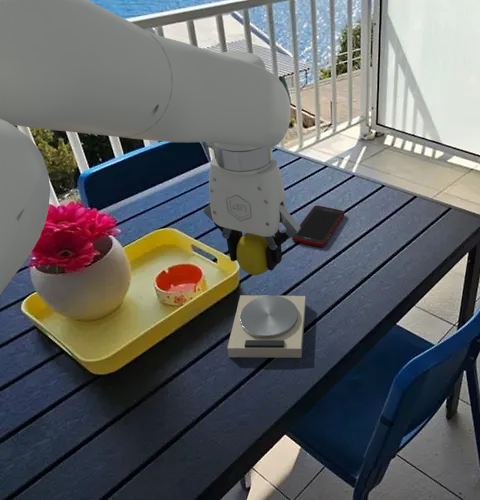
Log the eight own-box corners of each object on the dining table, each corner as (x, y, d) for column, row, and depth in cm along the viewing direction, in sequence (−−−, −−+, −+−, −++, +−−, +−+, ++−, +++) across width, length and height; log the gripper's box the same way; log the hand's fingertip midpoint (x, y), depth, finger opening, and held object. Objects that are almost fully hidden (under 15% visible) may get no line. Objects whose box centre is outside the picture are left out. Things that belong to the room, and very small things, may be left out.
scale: (301, 357, 83) (300, 345, 81) (228, 357, 83) (226, 344, 81) (305, 304, 93) (305, 292, 92) (241, 304, 93) (239, 291, 91)
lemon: (232, 274, 78) (226, 232, 73) (260, 259, 81) (255, 217, 77) (254, 290, 75) (249, 247, 70) (282, 274, 78) (279, 232, 74)
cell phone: (345, 214, 119) (345, 210, 118) (323, 248, 107) (323, 244, 107) (315, 208, 121) (315, 204, 120) (290, 241, 109) (290, 237, 109)
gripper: (171, 153, 65) (193, 262, 76) (291, 176, 61) (297, 288, 72) (203, 131, 71) (219, 236, 82) (314, 151, 67) (316, 258, 77)
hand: (255, 259), depth 77 cm, fingers closed on lemon, 5 cm apart
